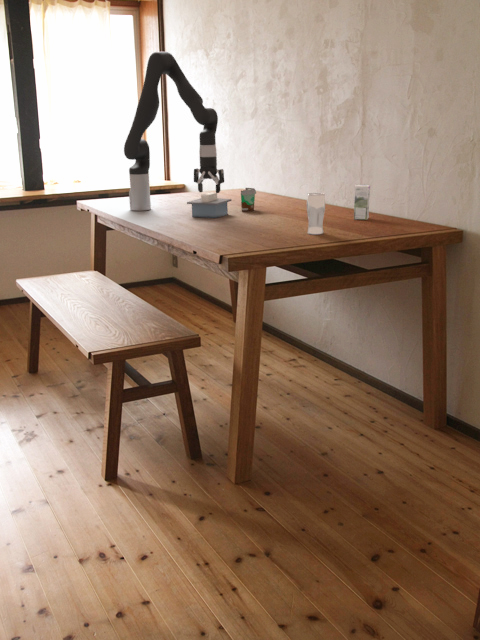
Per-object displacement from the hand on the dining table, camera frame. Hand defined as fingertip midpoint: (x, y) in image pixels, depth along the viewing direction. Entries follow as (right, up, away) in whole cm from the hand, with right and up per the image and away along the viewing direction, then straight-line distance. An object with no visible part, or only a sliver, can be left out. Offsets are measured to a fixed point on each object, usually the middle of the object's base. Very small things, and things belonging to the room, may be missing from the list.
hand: (209, 192), depth 288 cm
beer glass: (+43, -24, -43) cm, 65 cm away
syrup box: (+66, -14, -13) cm, 69 cm away
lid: (0, -4, +1) cm, 4 cm away
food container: (+19, -5, +16) cm, 25 cm away
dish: (0, -10, +3) cm, 10 cm away
